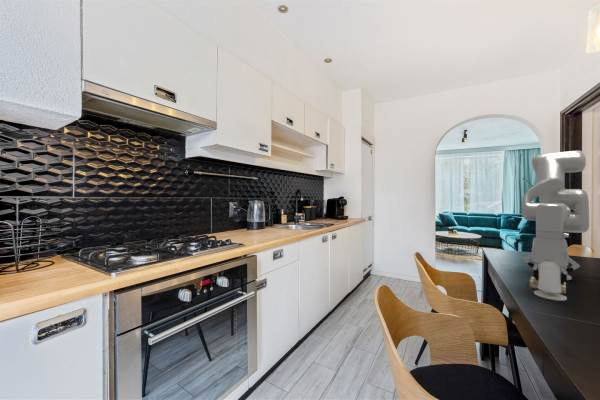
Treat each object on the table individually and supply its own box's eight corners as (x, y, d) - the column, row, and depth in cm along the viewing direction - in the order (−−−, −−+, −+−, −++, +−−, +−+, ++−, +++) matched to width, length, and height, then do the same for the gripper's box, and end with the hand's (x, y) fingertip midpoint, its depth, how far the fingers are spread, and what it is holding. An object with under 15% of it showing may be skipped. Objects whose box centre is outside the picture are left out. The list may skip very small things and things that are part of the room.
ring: (531, 281, 113) (531, 276, 113) (565, 287, 106) (565, 281, 106) (529, 287, 106) (529, 281, 106) (565, 293, 98) (565, 287, 98)
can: (566, 294, 93) (566, 262, 93) (545, 293, 94) (545, 261, 94) (552, 288, 99) (552, 258, 99) (533, 287, 100) (533, 257, 101)
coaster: (534, 290, 103) (534, 288, 103) (566, 296, 96) (566, 294, 96) (533, 296, 96) (533, 294, 96) (567, 302, 90) (567, 301, 90)
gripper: (582, 236, 93) (582, 284, 93) (520, 232, 105) (521, 275, 105) (583, 239, 88) (584, 290, 88) (518, 234, 100) (519, 279, 100)
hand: (549, 281), depth 96 cm, fingers closed on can, 6 cm apart
